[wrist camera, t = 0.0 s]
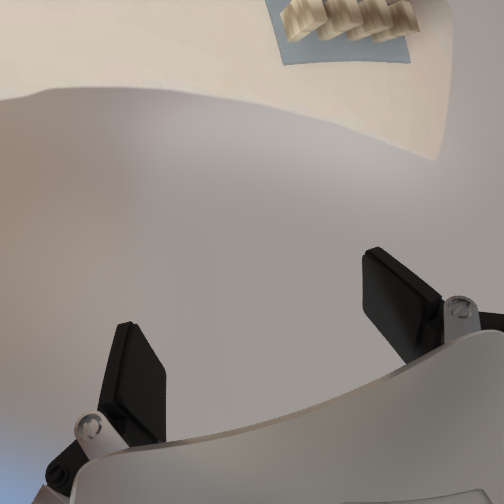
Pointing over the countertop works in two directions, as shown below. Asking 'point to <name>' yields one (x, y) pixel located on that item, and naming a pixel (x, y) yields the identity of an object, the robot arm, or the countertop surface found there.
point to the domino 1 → (302, 18)
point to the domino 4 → (399, 22)
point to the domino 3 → (371, 19)
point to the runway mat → (333, 44)
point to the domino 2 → (339, 18)
